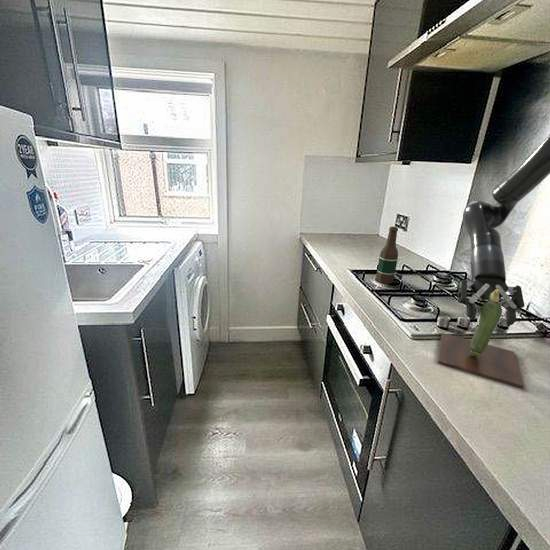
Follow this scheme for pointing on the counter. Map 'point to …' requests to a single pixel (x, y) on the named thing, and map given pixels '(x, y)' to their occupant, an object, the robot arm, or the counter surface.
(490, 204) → the robot arm
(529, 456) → the counter surface
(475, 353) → the vegetable
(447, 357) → the board
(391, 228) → the beer bottle
